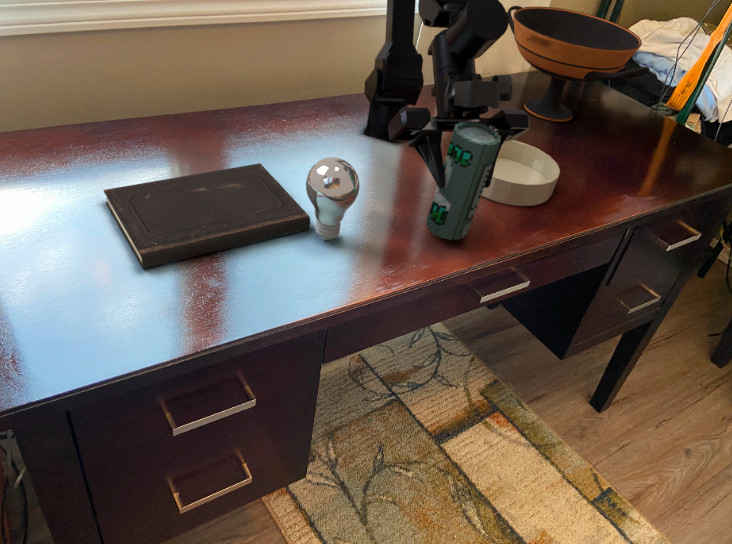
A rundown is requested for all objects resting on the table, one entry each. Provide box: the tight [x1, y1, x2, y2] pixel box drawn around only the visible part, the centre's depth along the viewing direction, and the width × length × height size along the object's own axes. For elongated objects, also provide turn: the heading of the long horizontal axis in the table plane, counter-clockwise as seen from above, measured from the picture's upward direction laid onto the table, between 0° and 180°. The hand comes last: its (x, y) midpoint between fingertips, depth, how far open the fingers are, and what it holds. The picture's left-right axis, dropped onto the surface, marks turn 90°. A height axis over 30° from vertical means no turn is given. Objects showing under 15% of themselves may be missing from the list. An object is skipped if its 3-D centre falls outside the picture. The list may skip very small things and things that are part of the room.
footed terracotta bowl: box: [506, 5, 651, 122], centre depth 126 cm, size 36×26×18 cm
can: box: [425, 121, 501, 241], centre depth 84 cm, size 6×6×15 cm
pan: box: [481, 139, 561, 207], centre depth 103 cm, size 16×16×4 cm
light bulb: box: [305, 156, 360, 241], centre depth 80 cm, size 7×7×12 cm
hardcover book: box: [103, 163, 311, 269], centre depth 83 cm, size 16×23×2 cm
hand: (464, 187), depth 83 cm, fingers closed on can, 6 cm apart
